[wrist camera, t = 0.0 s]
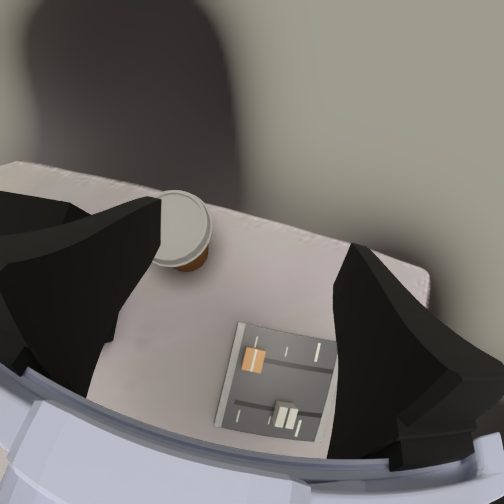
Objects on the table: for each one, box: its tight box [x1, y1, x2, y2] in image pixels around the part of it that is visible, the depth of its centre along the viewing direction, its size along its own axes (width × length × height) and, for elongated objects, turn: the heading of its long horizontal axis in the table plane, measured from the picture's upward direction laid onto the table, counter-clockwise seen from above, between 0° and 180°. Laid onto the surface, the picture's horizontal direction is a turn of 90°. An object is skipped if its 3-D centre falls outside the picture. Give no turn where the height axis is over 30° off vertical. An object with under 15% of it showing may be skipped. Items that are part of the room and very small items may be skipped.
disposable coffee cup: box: [152, 190, 213, 272], centre depth 38 cm, size 10×10×12 cm
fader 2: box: [272, 401, 298, 429], centre depth 35 cm, size 3×2×4 cm
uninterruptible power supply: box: [0, 191, 119, 343], centre depth 32 cm, size 16×34×20 cm, turn 79°
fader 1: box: [241, 346, 266, 373], centre depth 37 cm, size 3×2×4 cm
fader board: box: [214, 322, 338, 443], centre depth 38 cm, size 16×16×2 cm
